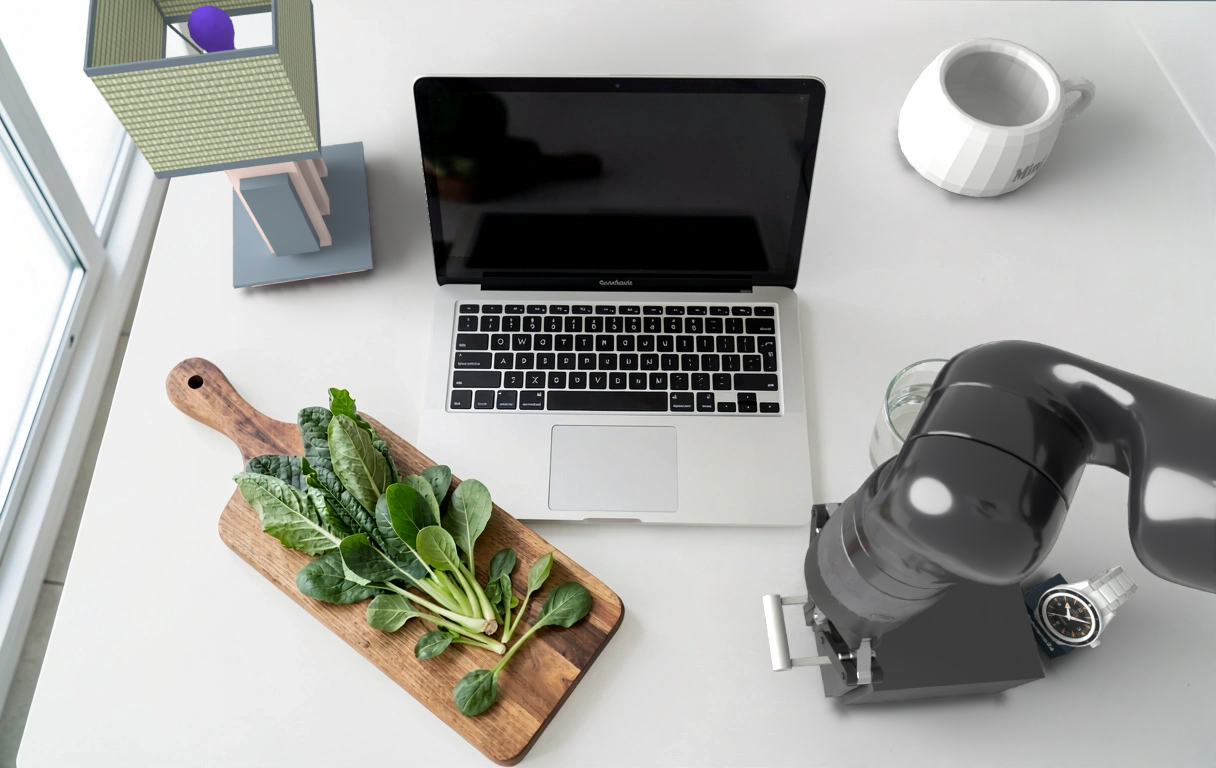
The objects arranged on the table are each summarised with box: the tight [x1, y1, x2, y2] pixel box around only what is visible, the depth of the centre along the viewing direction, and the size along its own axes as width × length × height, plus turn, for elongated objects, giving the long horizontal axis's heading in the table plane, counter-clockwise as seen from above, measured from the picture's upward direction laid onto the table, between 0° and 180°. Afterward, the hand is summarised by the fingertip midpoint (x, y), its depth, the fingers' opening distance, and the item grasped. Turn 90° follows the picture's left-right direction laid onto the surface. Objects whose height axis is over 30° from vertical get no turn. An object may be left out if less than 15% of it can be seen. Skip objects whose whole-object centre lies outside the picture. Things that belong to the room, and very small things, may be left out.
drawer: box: [762, 584, 864, 699], centre depth 76 cm, size 18×10×7 cm, turn 94°
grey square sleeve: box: [841, 582, 1046, 706], centre depth 76 cm, size 14×11×9 cm
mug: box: [897, 37, 1096, 198], centre depth 100 cm, size 21×17×10 cm
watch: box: [1023, 565, 1139, 661], centre depth 76 cm, size 6×8×11 cm
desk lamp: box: [82, 0, 374, 290], centre depth 84 cm, size 18×14×33 cm
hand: (817, 615), depth 69 cm, fingers closed
